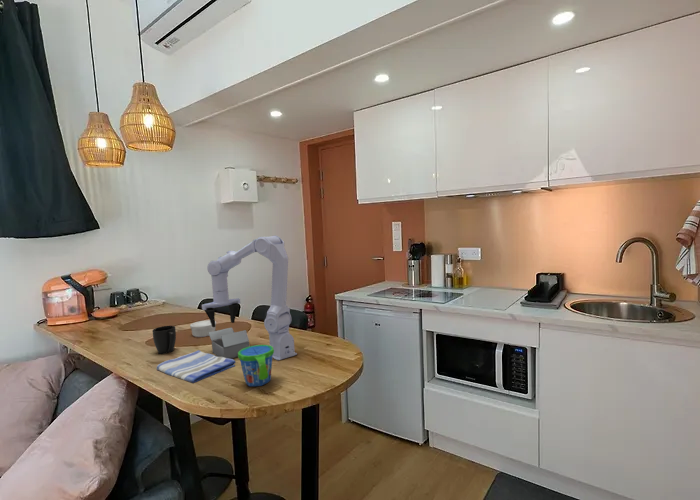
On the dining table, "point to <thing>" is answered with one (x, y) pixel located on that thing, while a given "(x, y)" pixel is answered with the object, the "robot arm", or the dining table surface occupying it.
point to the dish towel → (195, 366)
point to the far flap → (220, 333)
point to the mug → (164, 339)
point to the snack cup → (256, 364)
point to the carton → (227, 349)
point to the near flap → (234, 338)
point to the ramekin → (202, 328)
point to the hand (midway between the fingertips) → (223, 324)
